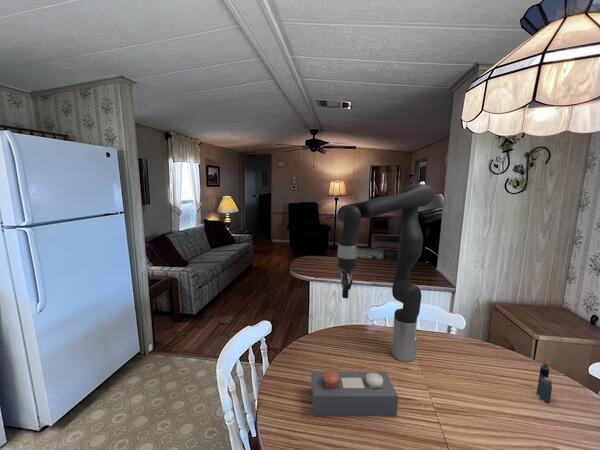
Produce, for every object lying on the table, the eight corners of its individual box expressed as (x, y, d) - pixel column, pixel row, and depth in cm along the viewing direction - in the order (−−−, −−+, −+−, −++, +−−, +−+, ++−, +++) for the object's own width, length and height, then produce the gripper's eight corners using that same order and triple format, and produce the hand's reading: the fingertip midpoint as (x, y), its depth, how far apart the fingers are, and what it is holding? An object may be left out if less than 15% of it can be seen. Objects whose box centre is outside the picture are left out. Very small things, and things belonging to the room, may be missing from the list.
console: (384, 389, 102) (385, 371, 101) (396, 416, 90) (398, 395, 89) (311, 389, 101) (311, 371, 100) (313, 416, 89) (314, 395, 88)
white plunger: (378, 392, 99) (380, 372, 98) (383, 404, 93) (385, 383, 92) (363, 392, 98) (364, 372, 97) (367, 404, 93) (368, 383, 92)
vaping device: (543, 393, 102) (548, 363, 100) (551, 404, 97) (556, 372, 95) (535, 392, 103) (539, 361, 101) (542, 402, 98) (546, 370, 96)
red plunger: (336, 389, 98) (337, 370, 97) (339, 402, 92) (340, 381, 91) (320, 389, 98) (321, 370, 97) (322, 402, 92) (323, 381, 91)
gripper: (360, 260, 104) (358, 304, 106) (352, 252, 117) (350, 291, 119) (340, 259, 104) (338, 304, 106) (335, 251, 117) (333, 291, 119)
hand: (345, 297), depth 113 cm, fingers closed
